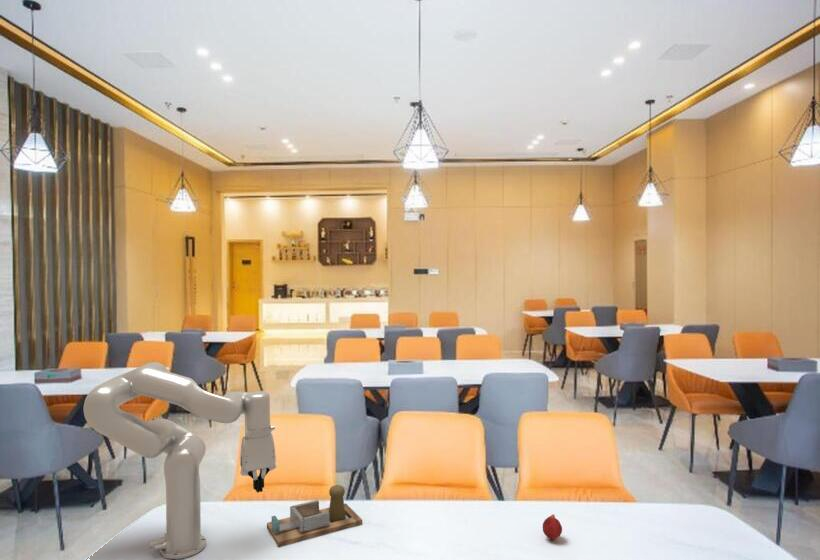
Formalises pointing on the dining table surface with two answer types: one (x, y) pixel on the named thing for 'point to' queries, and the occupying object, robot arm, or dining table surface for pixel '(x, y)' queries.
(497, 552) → the dining table surface
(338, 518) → the olive tapered rounded piece
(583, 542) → the dining table surface
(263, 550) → the dining table surface
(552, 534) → the onion
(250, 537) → the dining table surface
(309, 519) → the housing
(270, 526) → the board
